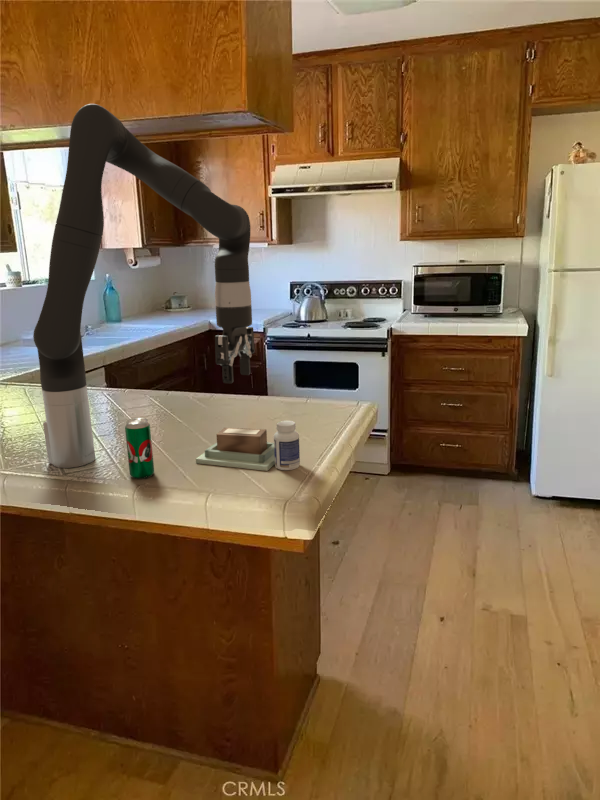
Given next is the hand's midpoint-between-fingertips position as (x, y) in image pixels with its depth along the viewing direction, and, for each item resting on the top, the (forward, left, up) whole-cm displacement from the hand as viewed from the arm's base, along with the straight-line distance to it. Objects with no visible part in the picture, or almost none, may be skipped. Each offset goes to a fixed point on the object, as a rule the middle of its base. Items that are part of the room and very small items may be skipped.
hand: (237, 378), depth 134 cm
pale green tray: (0, 0, -18) cm, 18 cm away
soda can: (-16, -15, -18) cm, 29 cm away
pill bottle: (+12, -2, -18) cm, 22 cm away
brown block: (0, 0, -17) cm, 17 cm away
